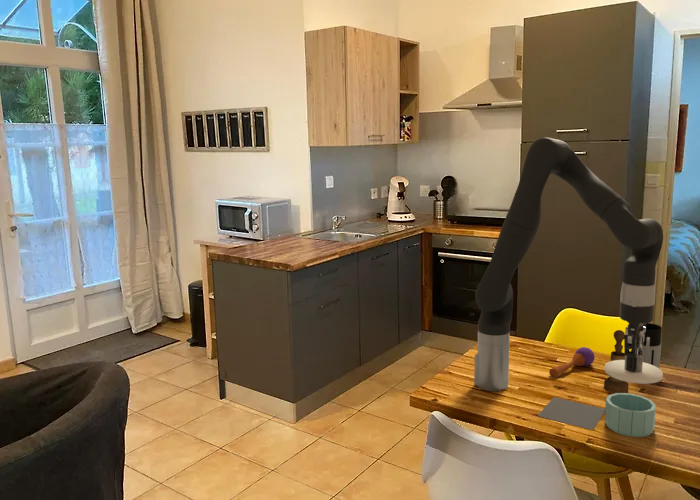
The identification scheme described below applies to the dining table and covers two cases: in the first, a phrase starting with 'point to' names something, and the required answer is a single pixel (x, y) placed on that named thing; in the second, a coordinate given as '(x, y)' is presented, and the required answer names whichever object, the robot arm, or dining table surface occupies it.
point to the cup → (630, 414)
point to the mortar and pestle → (611, 382)
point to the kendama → (575, 361)
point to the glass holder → (652, 345)
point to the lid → (641, 375)
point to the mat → (572, 413)
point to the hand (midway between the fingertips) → (633, 367)
